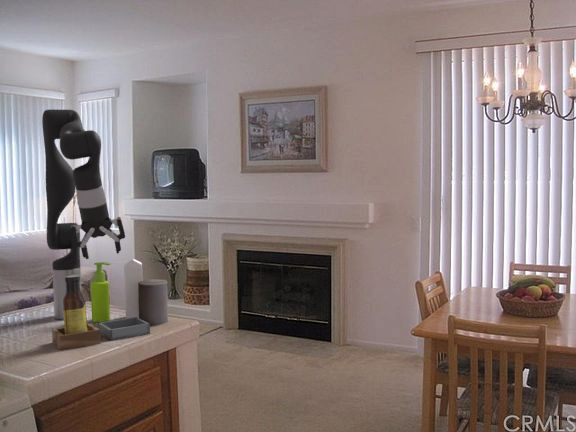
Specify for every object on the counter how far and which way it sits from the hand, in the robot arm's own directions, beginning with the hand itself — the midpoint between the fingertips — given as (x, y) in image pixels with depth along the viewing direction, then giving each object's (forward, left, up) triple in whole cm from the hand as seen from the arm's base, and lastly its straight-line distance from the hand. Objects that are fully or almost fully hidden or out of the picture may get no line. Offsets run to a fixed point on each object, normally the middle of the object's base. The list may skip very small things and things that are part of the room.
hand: (102, 255), depth 163 cm
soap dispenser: (-30, +8, -26) cm, 41 cm away
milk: (-26, +18, -26) cm, 41 cm away
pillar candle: (-16, +21, -26) cm, 37 cm away
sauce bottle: (-6, -7, -26) cm, 28 cm away
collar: (-6, -7, -26) cm, 27 cm away
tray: (-8, +8, -26) cm, 28 cm away
